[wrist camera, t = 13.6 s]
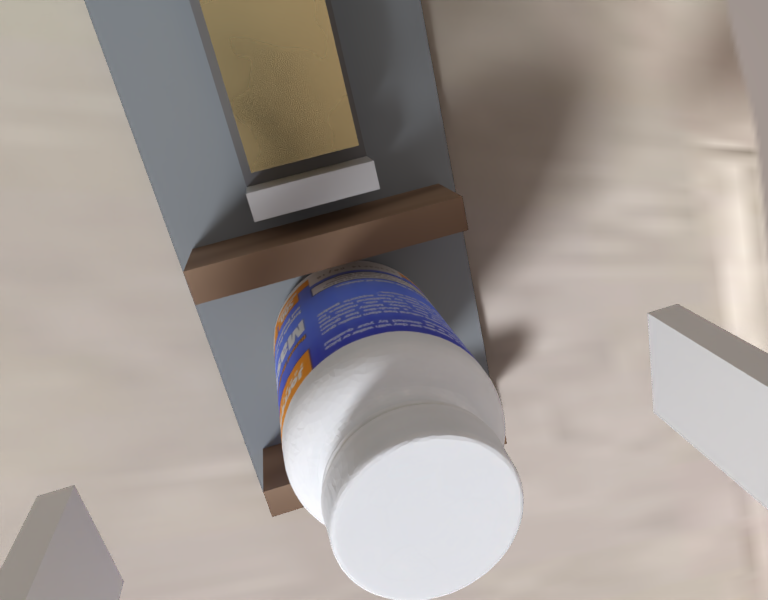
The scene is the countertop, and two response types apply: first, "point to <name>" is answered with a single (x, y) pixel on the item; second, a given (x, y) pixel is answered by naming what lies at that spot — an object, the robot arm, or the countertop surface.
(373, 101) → the mat
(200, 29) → the cradle base
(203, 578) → the countertop surface
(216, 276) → the trough
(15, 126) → the countertop surface
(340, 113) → the pad
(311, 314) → the pill bottle
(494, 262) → the countertop surface
